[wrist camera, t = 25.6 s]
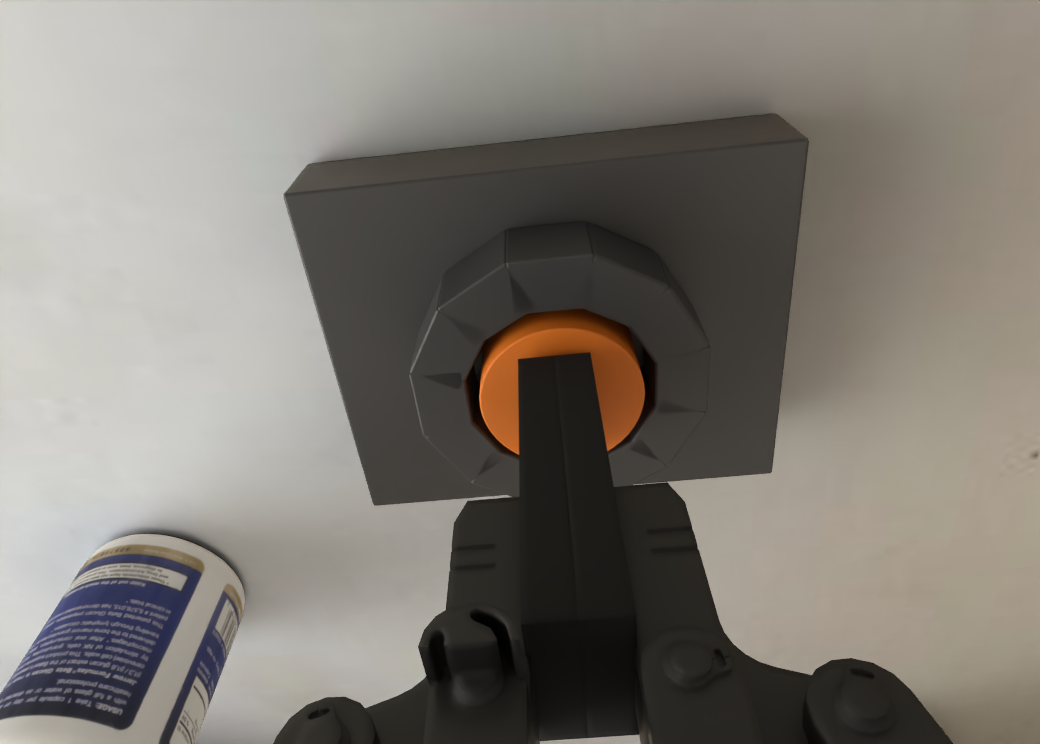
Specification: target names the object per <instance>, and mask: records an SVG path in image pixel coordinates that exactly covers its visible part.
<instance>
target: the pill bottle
mask: <svg viewBox="0 0 1040 744" xmlns="http://www.w3.org/2000/svg"><path fill="white" fill-rule="evenodd" d="M244 606H245V595H244V590H243V586H242V584H241V582H240V580H239V578H238V576H237V575H236V574H235V572H234V571H233V570H232V569H231V568H230V567H229V566H228V565H227V564H226V563H225V562H224V561H223V560H222V559H220V558H219V557H218V556H216V555H215V554H213V553H212V552H210V551H208V550H206V549H204V548H202V547H200V546H198V545H196V544H193V543H191V542H188V541H185V540H182V539H179V538H175V537H171V536H165V535H157V534H136V535H130V536H125V537H122V538H118V539H115V540H113V541H110V542H108V543H106V544H105V545H103V546H101V547H100V548H99V549H97V550H96V551H95V552H94V553H93V554H92V555H91V556H90V557H89V559H88V560H87V561H86V563H85V564H84V566H83V567H82V568H81V569H80V571H79V573H78V574H77V576H76V577H75V579H74V580H73V582H72V584H71V585H70V587H69V588H68V590H67V592H66V593H65V595H64V596H63V598H62V599H61V601H60V603H59V604H58V606H57V607H56V609H55V610H54V612H53V614H52V615H51V617H50V618H49V620H48V621H47V623H46V624H45V626H44V627H43V629H42V630H41V632H40V634H39V635H38V637H37V638H36V640H35V641H34V643H33V644H32V646H31V648H30V649H29V651H28V652H27V654H26V655H25V657H24V658H23V660H22V662H21V663H20V665H19V666H18V668H17V669H16V671H15V672H14V674H13V676H12V677H11V679H10V680H9V682H8V683H7V685H6V686H5V688H4V689H3V691H2V692H1V694H0V744H194V743H195V741H196V738H197V735H198V733H199V730H200V728H201V725H202V723H203V720H204V717H205V715H206V712H207V709H208V707H209V704H210V701H211V699H212V696H213V693H214V691H215V688H216V685H217V683H218V680H219V678H220V675H221V672H222V670H223V667H224V664H225V662H226V659H227V656H228V654H229V651H230V649H231V646H232V643H233V640H234V638H235V635H236V632H237V630H238V627H239V624H240V621H241V618H242V615H243V611H244Z"/></svg>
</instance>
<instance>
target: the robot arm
mask: <svg viewBox="0 0 1040 744" xmlns="http://www.w3.org/2000/svg"><path fill="white" fill-rule="evenodd" d="M518 404H519V496H520V497H510V498H498V499H486V500H474V501H467V503H466V505H465V506H464V508H463V509H462V511H461V513H460V514H459V516H458V518H457V519H456V521H455V522H454V530H453V540H452V552H451V561H450V572H449V582H448V592H447V603H446V610H445V611H444V612H442V613H440V614H439V615H437V616H436V617H435V618H434V619H433V620H432V622H431V623H430V624H429V625H428V626H427V627H426V629H425V630H424V632H423V635H422V638H421V641H420V643H419V646H418V648H419V651H420V655H421V658H422V662H423V665H424V669H425V672H426V677H425V678H424V679H423V680H422V681H421V682H420V683H418V684H417V685H416V686H415V687H413V688H412V689H410V690H408V691H406V692H404V693H402V694H400V695H399V696H396V697H394V698H391V699H389V700H386V701H383V702H381V703H378V704H376V705H373V706H371V707H368V708H364V707H363V706H362V705H361V703H359V702H356V701H354V700H351V699H349V698H346V697H327V698H324V699H321V700H319V701H316V702H313V703H311V704H308V705H306V706H305V707H304V708H303V709H301V710H300V711H299V712H297V713H296V714H295V715H294V716H292V717H291V718H290V719H289V720H288V722H287V723H286V725H285V726H284V727H283V729H282V730H281V731H280V733H279V734H278V736H277V737H276V739H275V741H274V743H273V744H540V742H539V740H540V741H549V740H564V739H579V738H594V737H609V736H624V735H639V734H640V741H641V744H953V743H952V741H951V740H950V739H949V738H948V736H947V735H946V734H945V733H944V731H943V730H942V729H941V728H940V726H939V725H938V724H937V723H936V721H935V720H934V719H933V718H932V716H931V715H930V714H929V712H928V711H927V710H926V709H925V707H924V706H923V705H922V704H921V702H920V701H919V700H918V699H917V697H916V696H915V695H914V694H913V692H912V691H911V690H910V689H909V688H908V687H907V686H906V685H905V684H904V683H903V682H902V681H901V680H899V679H898V678H897V677H896V676H895V675H894V674H893V673H891V672H889V671H887V670H885V669H883V668H881V667H879V666H877V665H876V664H874V663H870V662H866V661H861V660H856V659H852V658H850V659H840V660H831V661H829V662H828V663H826V664H824V665H822V666H821V667H819V668H817V669H816V670H815V672H814V673H813V675H808V674H803V673H799V672H794V671H790V670H785V669H781V668H776V667H773V666H770V665H767V664H764V663H761V662H758V661H757V660H755V659H753V658H751V657H749V656H748V655H746V654H744V653H743V652H742V651H741V650H740V649H738V648H737V647H736V646H735V645H734V644H733V643H732V642H731V641H730V639H729V638H728V637H727V635H726V634H725V633H724V631H723V628H722V626H721V624H720V622H719V619H718V615H717V612H716V608H715V605H714V601H713V598H712V594H711V591H710V587H709V584H708V580H707V577H706V574H705V570H704V567H703V563H702V560H701V556H700V553H699V550H698V548H697V542H696V539H695V535H694V532H693V530H692V525H691V522H690V518H689V515H688V511H687V508H686V504H685V502H684V501H683V500H682V498H681V497H680V496H679V495H678V494H677V493H676V492H675V491H674V490H673V489H672V488H671V486H670V485H669V484H668V483H656V484H644V485H632V486H620V487H614V486H613V480H612V474H611V468H610V463H609V457H608V451H607V445H606V440H605V434H604V428H603V422H602V417H601V411H600V405H599V399H598V394H597V388H596V382H595V376H594V371H593V365H592V359H591V353H590V352H588V353H577V354H566V355H556V356H545V357H534V358H523V359H518Z"/></svg>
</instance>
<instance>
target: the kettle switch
mask: <svg viewBox="0 0 1040 744" xmlns="http://www.w3.org/2000/svg"><path fill="white" fill-rule="evenodd" d="M588 352H590V353H591V359H592V365H593V371H594V376H595V382H596V388H597V394H598V399H599V405H600V411H601V417H602V422H603V428H604V434H605V440H606V445H607V451H608V450H610V449H612V448H613V447H615V446H616V445H617V444H619V443H620V442H621V441H622V440H623V439H624V438H625V437H626V436H627V435H628V434H629V433H630V432H631V430H632V429H633V428H634V426H635V425H636V423H637V421H638V419H639V417H640V414H641V412H642V409H643V405H644V399H645V387H644V381H643V377H642V373H641V369H640V366H639V362H638V358H637V355H636V351H635V347H634V343H633V340H632V336H631V334H630V331H629V329H628V327H627V326H626V325H623V324H621V323H618V322H616V321H613V320H611V319H608V318H606V317H603V316H601V315H598V314H596V313H593V312H591V311H588V310H586V309H583V308H581V309H571V310H560V311H550V312H539V313H529V314H526V315H524V316H523V317H521V318H519V319H518V320H516V321H515V322H513V323H512V324H510V325H509V326H507V327H505V328H504V329H502V330H501V331H499V332H498V333H496V334H495V335H493V336H491V337H490V338H488V339H487V340H485V342H484V346H483V353H482V367H481V380H480V394H479V401H480V409H481V413H482V416H483V419H484V421H485V423H486V425H487V427H488V428H489V430H490V431H491V433H492V434H493V435H494V436H495V438H496V439H497V440H498V441H499V442H501V443H502V444H503V445H504V446H505V447H507V448H508V449H510V450H511V451H513V452H515V453H516V454H518V455H519V404H518V359H523V358H534V357H545V356H556V355H566V354H577V353H588Z"/></svg>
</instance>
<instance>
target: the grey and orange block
mask: <svg viewBox="0 0 1040 744" xmlns="http://www.w3.org/2000/svg"><path fill="white" fill-rule="evenodd" d="M808 143H809V141H808V138H806V137H805V136H804V135H803V134H801V133H800V132H799V131H797V130H796V129H795V128H794V127H792V126H791V125H790V124H789V123H787V122H786V121H785V120H784V119H782V118H781V117H780V116H779V115H777V114H767V115H758V116H749V117H739V118H730V119H721V120H712V121H702V122H693V123H684V124H674V125H665V126H656V127H647V128H637V129H628V130H619V131H610V132H600V133H591V134H582V135H572V136H563V137H554V138H545V139H535V140H526V141H517V142H508V143H498V144H489V145H480V146H470V147H461V148H452V149H443V150H433V151H424V152H415V153H406V154H396V155H387V156H378V157H368V158H359V159H350V160H341V161H331V162H322V163H313V164H308V165H307V166H306V167H305V169H304V170H303V171H302V172H301V174H300V175H299V176H298V177H297V178H296V180H295V181H294V182H293V183H292V185H291V186H290V187H289V188H288V190H287V191H286V192H285V193H284V200H285V203H286V207H287V210H288V214H289V217H290V220H291V224H292V227H293V231H294V234H295V238H296V241H297V244H298V248H299V251H300V255H301V258H302V262H303V265H304V268H305V272H306V275H307V279H308V282H309V286H310V289H311V292H312V296H313V299H314V303H315V306H316V310H317V313H318V316H319V320H320V323H321V327H322V330H323V334H324V337H325V340H326V344H327V347H328V351H329V354H330V358H331V361H332V364H333V368H334V371H335V375H336V378H337V382H338V385H339V388H340V392H341V395H342V399H343V402H344V406H345V409H346V412H347V416H348V419H349V423H350V426H351V430H352V433H353V436H354V440H355V443H356V447H357V450H358V454H359V457H360V460H361V464H362V467H363V471H364V474H365V478H366V481H367V484H368V488H369V491H370V495H371V498H372V502H373V504H374V505H388V504H400V503H413V502H425V501H437V500H449V499H461V498H473V497H486V496H498V495H509V496H512V497H520V496H519V455H518V454H516V453H515V452H513V451H511V450H510V449H508V448H507V447H505V446H504V445H503V444H502V443H501V442H499V441H498V440H497V439H496V438H495V436H494V435H493V434H492V433H491V431H490V430H489V428H488V427H487V425H486V423H485V421H484V419H483V416H482V413H481V409H480V401H479V394H480V380H481V367H482V353H483V346H484V342H485V340H487V339H488V338H490V337H491V336H493V335H495V334H496V333H498V332H499V331H501V330H502V329H504V328H505V327H507V326H509V325H510V324H512V323H513V322H515V321H516V320H518V319H519V318H521V317H523V316H524V315H526V314H529V313H539V312H550V311H560V310H571V309H581V308H583V309H586V310H588V311H591V312H593V313H596V314H598V315H601V316H603V317H606V318H608V319H611V320H613V321H616V322H618V323H621V324H623V325H626V326H627V327H628V329H629V331H630V334H631V336H632V340H633V343H634V347H635V351H636V355H637V358H638V362H639V366H640V369H641V373H642V377H643V381H644V387H645V399H644V405H643V409H642V412H641V414H640V417H639V419H638V421H637V423H636V425H635V426H634V428H633V429H632V430H631V432H630V433H629V434H628V435H627V436H626V437H625V438H624V439H623V440H622V441H621V442H620V443H619V444H617V445H616V446H615V447H613V448H612V449H610V450H608V457H609V463H610V468H611V474H612V480H613V486H614V487H620V486H632V485H633V484H644V483H656V482H668V481H680V480H692V479H705V478H717V477H729V476H741V475H753V474H765V473H771V472H772V465H773V457H774V448H775V439H776V430H777V421H778V412H779V403H780V394H781V385H782V376H783V367H784V358H785V349H786V340H787V331H788V322H789V313H790V304H791V295H792V286H793V277H794V268H795V259H796V250H797V241H798V233H799V224H800V215H801V206H802V197H803V188H804V179H805V170H806V161H807V152H808Z"/></svg>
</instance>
